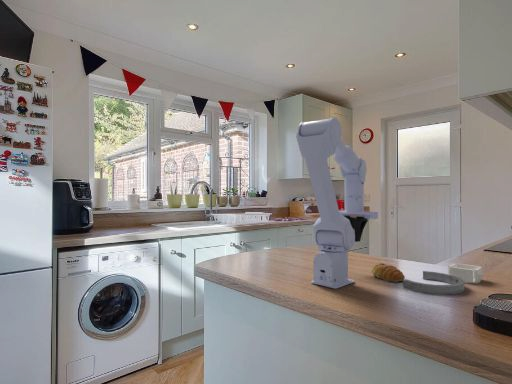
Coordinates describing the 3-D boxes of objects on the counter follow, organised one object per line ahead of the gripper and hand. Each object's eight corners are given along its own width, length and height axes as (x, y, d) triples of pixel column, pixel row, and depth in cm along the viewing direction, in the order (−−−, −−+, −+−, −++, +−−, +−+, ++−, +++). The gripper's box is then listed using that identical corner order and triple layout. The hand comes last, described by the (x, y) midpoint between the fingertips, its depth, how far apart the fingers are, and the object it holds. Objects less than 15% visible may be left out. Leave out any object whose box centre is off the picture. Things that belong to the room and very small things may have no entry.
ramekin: (476, 285, 85) (476, 270, 85) (447, 280, 90) (447, 266, 90) (483, 280, 90) (483, 266, 90) (454, 275, 95) (454, 262, 95)
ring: (454, 299, 74) (453, 290, 74) (401, 288, 82) (401, 280, 82) (472, 285, 84) (471, 277, 84) (424, 277, 93) (424, 270, 93)
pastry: (411, 282, 89) (411, 268, 89) (390, 284, 87) (390, 270, 87) (388, 274, 98) (388, 261, 98) (369, 276, 96) (368, 263, 96)
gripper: (382, 197, 98) (382, 242, 98) (340, 196, 108) (340, 237, 108) (371, 197, 93) (371, 244, 93) (328, 197, 104) (328, 239, 104)
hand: (354, 241), depth 100 cm, fingers closed
